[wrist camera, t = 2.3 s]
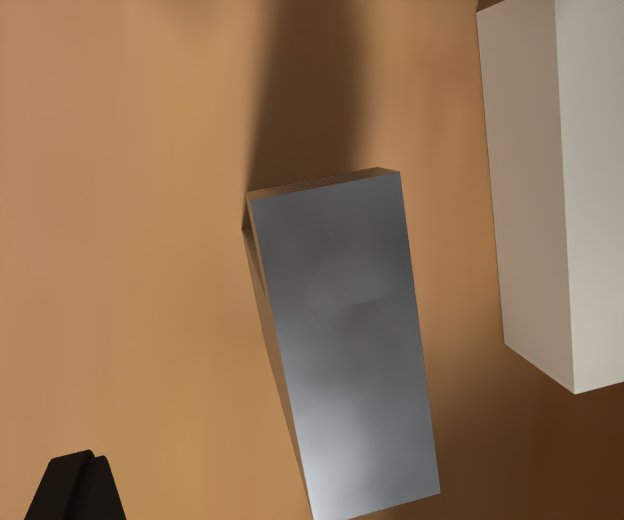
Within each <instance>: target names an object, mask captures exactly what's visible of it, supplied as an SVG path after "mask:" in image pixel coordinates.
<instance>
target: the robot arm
mask: <svg viewBox="0 0 624 520" xmlns="http://www.w3.org/2000/svg"><path fill="white" fill-rule="evenodd" d="M24 520H126V517H125V513H124V510H123V507H122V504H121V501H120V498H119V494H118V491H117V488H116V485H115V482H114V478H113V475H112V472H111V469H110V466H109V463H108V460H107V458H106V457H105V456H104V455H103V456H99V457H95V456H94V454H93V452H92V451H91V450H85V451H81V452H77V453H73V454H69V455H65V456H61V457H56V458H53V459H51V461H50V462H49V464H48V466H47V469H46V471H45V473H44V475H43V478H42V480H41V482H40V485H39V487H38V489H37V491H36V494H35V496H34V498H33V500H32V503H31V505H30V507H29V510H28V512H27V514H26V516H25V519H24Z"/></svg>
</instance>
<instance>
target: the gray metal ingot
mask: <svg viewBox="0 0 624 520" xmlns="http://www.w3.org/2000/svg"><path fill="white" fill-rule="evenodd" d="M245 196H246V201H247V206H248V211H249V216H250V221H251V226H252V227H249V228H244V229H242V234H243V239H244V244H245V249H246V253H247V258H248V263H249V268H250V273H251V278H252V283H253V287H254V292H255V297H256V302H257V307H258V312H259V317H260V321H261V326H262V331H263V336H264V341H265V346H266V349H267V353H268V357H269V360H270V364H271V368H272V371H273V375H274V379H275V382H276V386H277V390H278V393H279V397H280V401H281V404H282V408H283V412H284V415H285V419H286V423H287V426H288V430H289V434H290V437H291V441H292V445H293V448H294V452H295V456H296V459H297V463H298V467H299V470H300V474H301V478H302V481H303V485H304V489H305V492H306V496H307V500H308V503H309V507H310V511H311V514H312V518H313V520H347V519H351V518H354V517H358V516H361V515H365V514H368V513H372V512H376V511H379V510H383V509H386V508H390V507H393V506H397V505H401V504H404V503H408V502H411V501H415V500H418V499H422V498H425V497H429V496H433V495H436V494H440V493H441V492H440V484H439V476H438V468H437V460H436V452H435V445H434V437H433V429H432V421H431V413H430V405H429V397H428V390H427V382H426V374H425V366H424V358H423V350H422V342H421V335H420V327H419V319H418V311H417V303H416V295H415V287H414V280H413V272H412V264H411V256H410V248H409V240H408V232H407V225H406V217H405V209H404V201H403V193H402V185H401V177H400V172H399V171H394V170H389V169H385V168H380V167H374V168H369V169H364V170H359V171H354V172H348V173H343V174H338V175H333V176H328V177H322V178H317V179H312V180H307V181H302V182H296V183H291V184H286V185H281V186H276V187H270V188H265V189H260V190H255V191H250V192H245Z"/></svg>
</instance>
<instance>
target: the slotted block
mask: <svg viewBox="0 0 624 520" xmlns="http://www.w3.org/2000/svg"><path fill="white" fill-rule="evenodd" d="M476 18H477V29H478V41H479V53H480V65H481V76H482V88H483V100H484V111H485V123H486V135H487V146H488V158H489V170H490V182H491V193H492V205H493V217H494V228H495V240H496V252H497V263H498V275H499V287H500V299H501V310H502V322H503V334H504V344H505V345H507V346H508V347H510V348H511V349H512V350H514V351H515V352H516V353H518V354H519V355H521V356H522V357H523V358H525V359H526V360H528V361H529V362H530V363H532V364H533V365H535V366H536V367H537V368H539V369H540V370H541V371H543V372H544V373H546V374H547V375H548V376H550V377H551V378H553V379H554V380H555V381H557V382H558V383H559V384H561V385H562V386H564V387H565V388H566V389H568V390H569V391H571V392H572V393H573V394H578V393H582V392H586V391H590V390H594V389H597V388H601V387H605V386H609V385H613V384H616V383H620V382H624V0H504V1H502V2H499V3H497V4H495V5H493V6H490V7H488V8H486V9H483V10H481V11H479V12H476Z"/></svg>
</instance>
